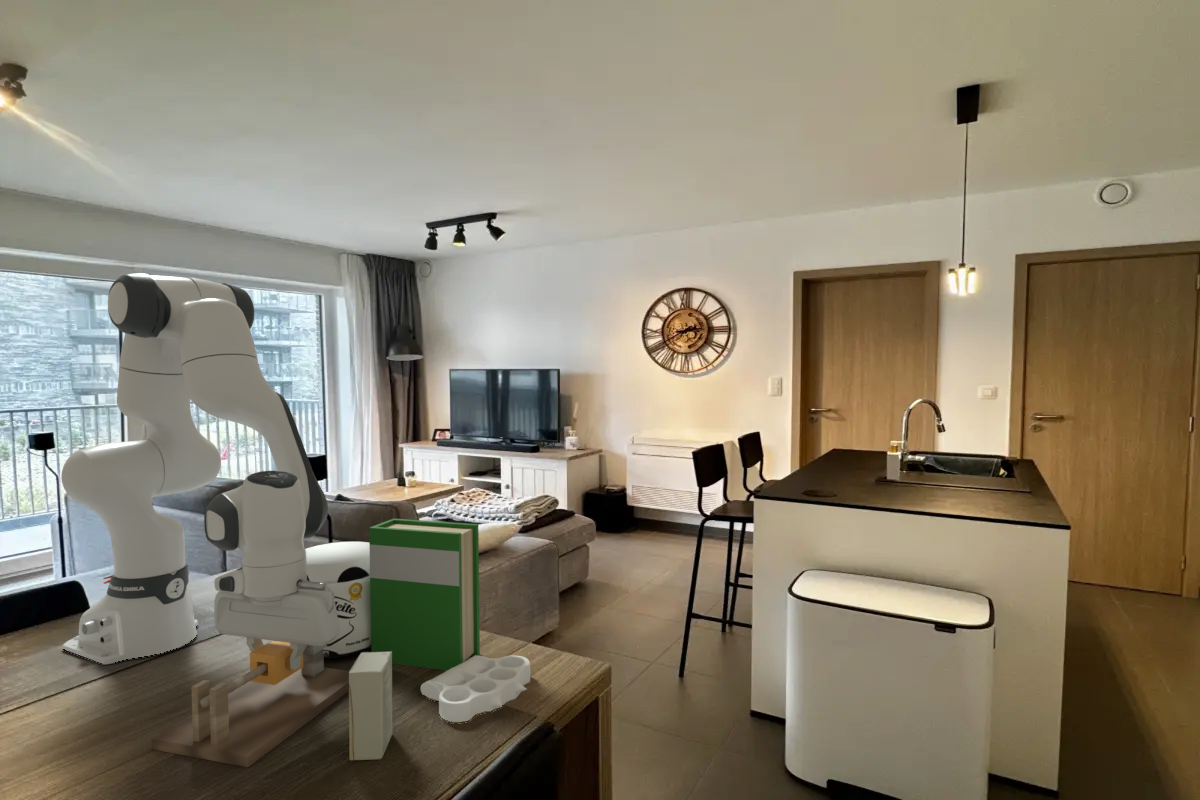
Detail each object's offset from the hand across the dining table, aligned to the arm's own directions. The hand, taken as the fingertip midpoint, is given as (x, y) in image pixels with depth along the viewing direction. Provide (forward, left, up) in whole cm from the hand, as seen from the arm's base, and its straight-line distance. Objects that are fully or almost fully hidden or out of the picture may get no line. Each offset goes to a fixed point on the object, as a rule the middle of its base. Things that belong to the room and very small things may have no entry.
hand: (277, 665), depth 98 cm
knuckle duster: (+29, +11, -7) cm, 32 cm away
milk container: (-5, +21, -6) cm, 22 cm away
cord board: (0, -2, -6) cm, 7 cm away
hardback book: (+14, +21, -6) cm, 26 cm away
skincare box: (+21, -6, -6) cm, 23 cm away
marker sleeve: (0, 0, -1) cm, 1 cm away
